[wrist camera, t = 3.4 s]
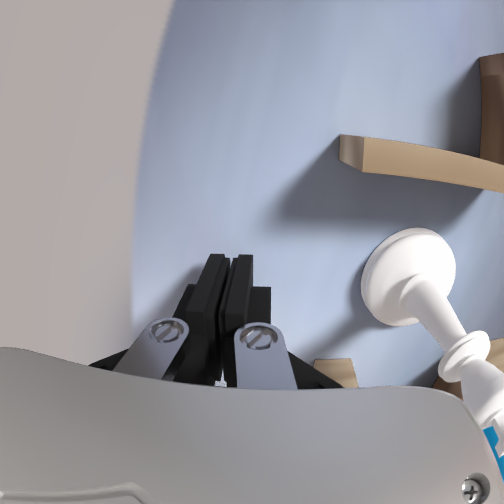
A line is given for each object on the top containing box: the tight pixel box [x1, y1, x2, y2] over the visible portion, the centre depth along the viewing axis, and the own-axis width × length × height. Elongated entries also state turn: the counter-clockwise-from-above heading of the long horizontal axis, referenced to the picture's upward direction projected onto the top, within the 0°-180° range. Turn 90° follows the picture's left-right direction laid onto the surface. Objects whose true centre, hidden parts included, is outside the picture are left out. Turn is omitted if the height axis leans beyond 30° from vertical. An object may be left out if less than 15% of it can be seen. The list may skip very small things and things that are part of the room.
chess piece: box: [361, 228, 504, 458], centre depth 8 cm, size 5×5×10 cm
